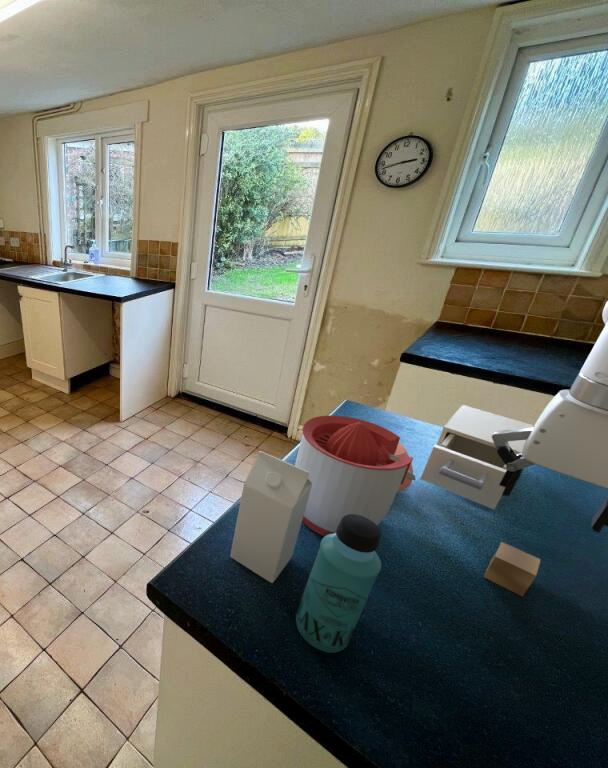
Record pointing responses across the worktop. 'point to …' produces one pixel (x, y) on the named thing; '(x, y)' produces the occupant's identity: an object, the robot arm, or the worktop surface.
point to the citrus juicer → (349, 470)
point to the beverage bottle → (339, 584)
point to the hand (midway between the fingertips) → (548, 507)
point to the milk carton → (270, 515)
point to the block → (512, 569)
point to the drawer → (467, 470)
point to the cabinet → (481, 427)
